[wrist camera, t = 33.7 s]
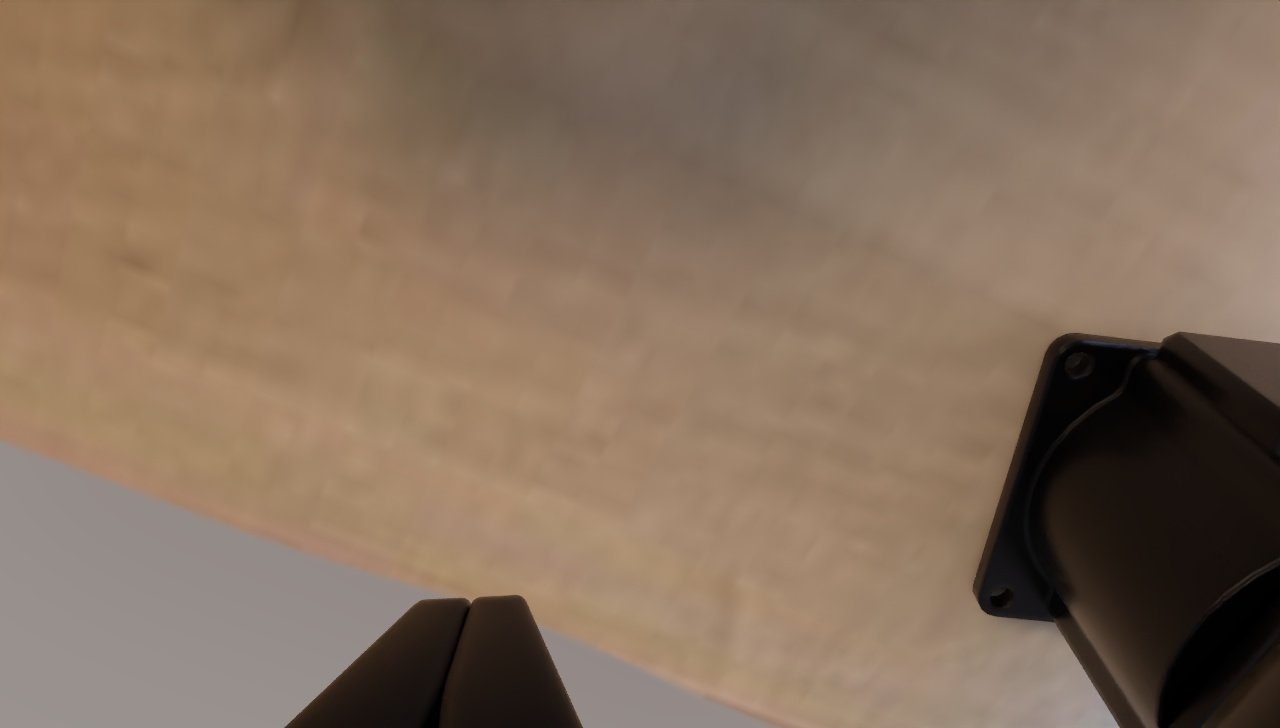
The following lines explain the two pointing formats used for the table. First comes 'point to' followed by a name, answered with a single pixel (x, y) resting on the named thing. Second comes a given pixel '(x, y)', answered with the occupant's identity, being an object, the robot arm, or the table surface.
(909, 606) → the table surface
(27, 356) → the table surface
